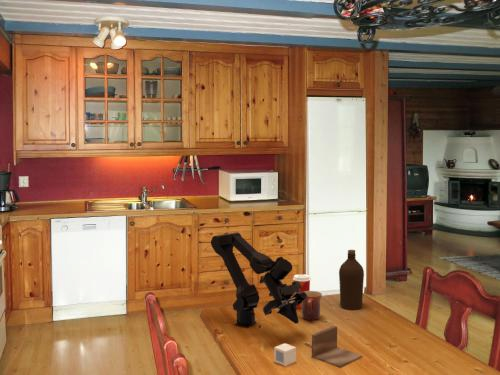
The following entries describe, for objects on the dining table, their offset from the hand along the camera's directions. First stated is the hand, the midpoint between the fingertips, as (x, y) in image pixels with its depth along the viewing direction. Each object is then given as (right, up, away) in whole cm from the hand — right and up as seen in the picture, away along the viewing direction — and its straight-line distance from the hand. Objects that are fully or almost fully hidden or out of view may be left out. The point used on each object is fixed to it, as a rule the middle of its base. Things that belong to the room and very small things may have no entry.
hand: (297, 323), depth 195 cm
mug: (+8, -5, +26) cm, 27 cm away
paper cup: (+6, -4, +41) cm, 41 cm away
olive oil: (+27, -3, +41) cm, 50 cm away
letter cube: (-5, -9, -15) cm, 19 cm away
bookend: (+12, -9, -12) cm, 19 cm away
